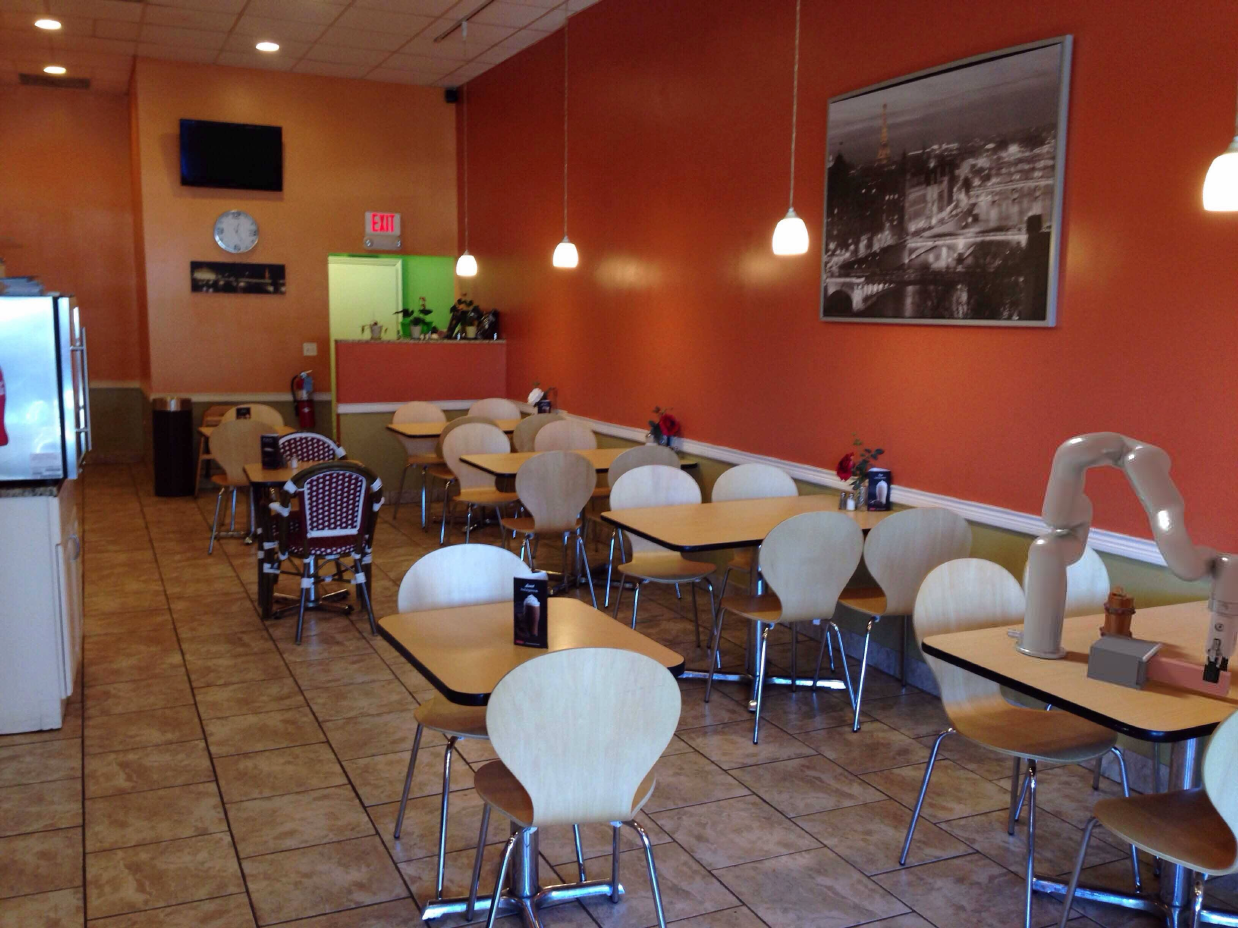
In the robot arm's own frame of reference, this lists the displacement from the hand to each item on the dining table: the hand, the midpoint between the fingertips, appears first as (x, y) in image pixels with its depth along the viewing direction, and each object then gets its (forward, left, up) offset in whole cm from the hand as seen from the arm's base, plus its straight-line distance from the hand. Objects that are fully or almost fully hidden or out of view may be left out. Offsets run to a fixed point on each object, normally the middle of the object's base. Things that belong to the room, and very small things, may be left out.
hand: (1214, 676), depth 244 cm
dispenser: (-20, 0, -5) cm, 20 cm away
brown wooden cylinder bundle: (-29, +28, -5) cm, 41 cm away
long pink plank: (-6, 0, -4) cm, 7 cm away
